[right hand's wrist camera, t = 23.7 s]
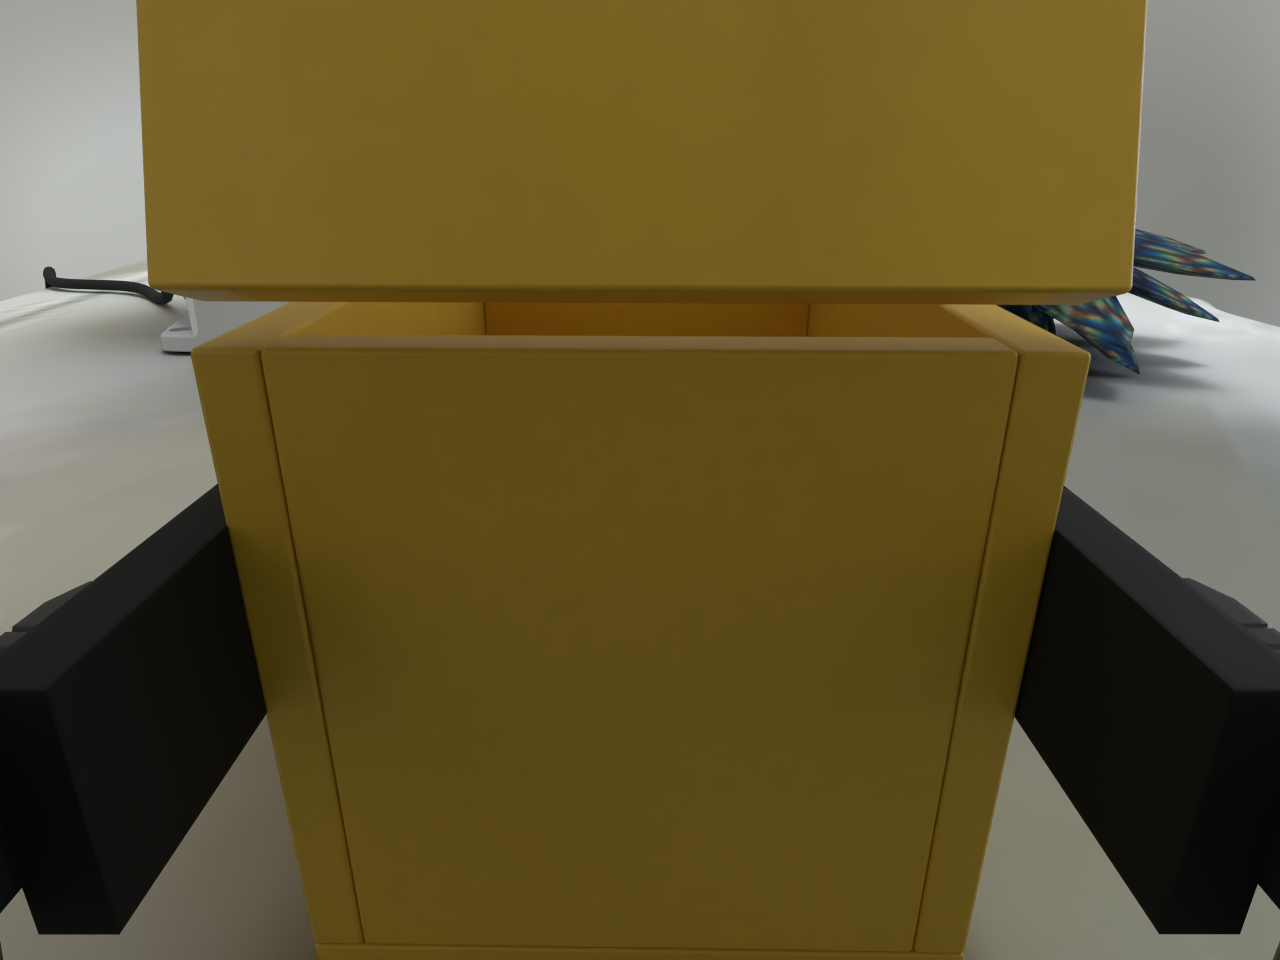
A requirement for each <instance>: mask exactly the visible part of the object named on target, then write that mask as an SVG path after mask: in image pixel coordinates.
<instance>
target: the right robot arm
mask: <svg viewBox="0 0 1280 960" xmlns="http://www.w3.org/2000/svg"><path fill="white" fill-rule="evenodd" d="M266 714H267V710H266V706H265V701H264V696H263V691H262V687H261V682H260V677H259V672H258V668H257V663H256V658H255V653H254V649H253V644H252V639H251V634H250V630H249V625H248V620H247V616H246V611H245V606H244V601H243V597H242V592H241V587H240V582H239V578H238V573H237V568H236V563H235V559H234V554H233V549H232V544H231V540H230V535H229V530H228V526H227V524H226V520H225V515H224V510H223V505H222V501H221V496H220V491H219V486H218V484H217V485H215V486H214V487H213V488H212V489H210V490H209V491H208V492H207V493H205V494H204V495H203V496H201V497H200V498H199V499H198V500H196V501H195V502H194V503H192V504H191V505H190V506H189V507H187V508H186V509H185V510H183V511H182V512H181V513H180V514H178V515H177V516H176V517H175V518H173V519H172V520H171V521H169V522H168V523H167V524H166V525H164V526H163V527H162V528H160V529H159V530H158V531H157V532H155V533H154V534H153V535H151V536H150V537H149V538H148V539H146V540H145V541H144V542H143V543H141V544H140V545H139V546H137V547H136V548H135V549H134V550H132V551H131V552H130V553H128V554H127V555H126V556H125V557H123V558H122V559H121V560H119V561H118V562H117V563H116V564H114V565H113V566H112V567H111V568H109V569H108V570H107V571H105V572H104V573H103V574H102V575H100V576H99V577H98V578H96V579H95V580H94V581H90V582H87V583H85V584H83V585H81V586H79V587H77V588H75V589H73V590H70V591H68V592H66V593H64V594H62V595H60V596H58V597H56V598H53V599H51V600H49V601H47V602H45V603H44V604H42V605H41V606H40V607H38V608H37V609H36V610H34V611H33V612H32V613H30V614H29V615H28V616H26V617H25V618H24V619H22V620H21V621H20V622H18V623H17V624H16V625H14V626H13V627H12V632H5V633H4V634H2V635H1V636H0V913H1V912H2V911H3V909H4V908H5V907H6V906H7V905H8V903H9V902H10V901H11V900H12V899H13V897H14V896H15V895H16V894H17V893H18V892H19V890H20V889H21V888H23V891H24V894H25V897H26V900H27V902H28V905H29V908H30V911H31V914H32V916H33V919H34V922H35V925H36V928H37V931H38V933H39V934H120V933H121V931H122V930H123V928H124V927H125V925H126V924H127V922H128V921H129V919H130V918H131V916H132V915H133V913H134V912H135V910H136V909H137V907H138V906H139V904H140V903H141V901H142V900H143V898H144V897H145V895H146V894H147V892H148V891H149V889H150V888H151V886H152V885H153V883H154V882H155V880H156V879H157V877H158V876H159V874H160V873H161V871H162V870H163V868H164V867H165V865H166V864H167V862H168V861H169V859H170V858H171V856H172V855H173V853H174V852H175V850H176V849H177V847H178V846H179V844H180V843H181V841H182V840H183V838H184V837H185V835H186V834H187V832H188V831H189V829H190V828H191V826H192V825H193V823H194V822H195V820H196V819H197V817H198V816H199V814H200V813H201V811H202V810H203V808H204V807H205V805H206V804H207V802H208V801H209V799H210V798H211V796H212V795H213V793H214V792H215V790H216V789H217V787H218V786H219V784H220V783H221V781H222V780H223V778H224V777H225V775H226V774H227V772H228V771H229V769H230V768H231V766H232V765H233V763H234V762H235V760H236V759H237V757H238V756H239V754H240V753H241V751H242V750H243V748H244V747H245V745H246V744H247V742H248V741H249V739H250V738H251V736H252V735H253V733H254V732H255V730H256V729H257V727H258V726H259V724H260V723H261V721H262V720H263V718H264V717H265V715H266ZM1015 718H1016V719H1017V721H1018V723H1019V724H1020V726H1021V727H1022V729H1023V730H1024V732H1025V733H1026V735H1027V736H1028V738H1029V739H1030V741H1031V742H1032V744H1033V745H1034V747H1035V748H1036V750H1037V751H1038V753H1039V754H1040V756H1041V757H1042V759H1043V760H1044V762H1045V763H1046V765H1047V766H1048V768H1049V769H1050V771H1051V772H1052V774H1053V775H1054V777H1055V778H1056V780H1057V781H1058V783H1059V784H1060V786H1061V787H1062V789H1063V790H1064V792H1065V793H1066V795H1067V796H1068V798H1069V799H1070V801H1071V802H1072V804H1073V805H1074V807H1075V808H1076V810H1077V811H1078V813H1079V814H1080V816H1081V817H1082V819H1083V820H1084V822H1085V823H1086V825H1087V826H1088V828H1089V829H1090V831H1091V832H1092V834H1093V835H1094V837H1095V838H1096V840H1097V841H1098V843H1099V844H1100V846H1101V847H1102V849H1103V850H1104V852H1105V853H1106V855H1107V856H1108V858H1109V859H1110V861H1111V862H1112V864H1113V865H1114V867H1115V868H1116V870H1117V871H1118V873H1119V874H1120V876H1121V877H1122V879H1123V880H1124V882H1125V883H1126V885H1127V886H1128V888H1129V889H1130V891H1131V892H1132V894H1133V895H1134V897H1135V898H1136V900H1137V901H1138V903H1139V904H1140V906H1141V907H1142V909H1143V910H1144V912H1145V913H1146V915H1147V916H1148V918H1149V919H1150V921H1151V922H1152V924H1153V925H1154V927H1155V928H1156V930H1157V931H1158V933H1159V934H1240V932H1241V929H1242V927H1243V924H1244V921H1245V918H1246V915H1247V913H1248V910H1249V907H1250V904H1251V901H1252V899H1253V896H1254V893H1255V890H1256V887H1257V884H1259V886H1260V887H1261V888H1262V889H1263V890H1264V892H1265V893H1266V894H1267V895H1268V896H1269V897H1270V899H1271V900H1272V901H1273V902H1274V903H1275V905H1276V906H1277V907H1278V908H1279V909H1280V633H1279V632H1278V631H1277V630H1275V629H1268V627H1267V623H1266V622H1265V621H1263V620H1262V619H1260V618H1259V617H1258V616H1256V615H1255V614H1254V613H1252V612H1251V611H1250V610H1248V609H1247V608H1246V607H1244V606H1243V605H1242V604H1240V603H1239V602H1238V601H1236V600H1235V599H1233V598H1231V597H1229V596H1227V595H1225V594H1223V593H1220V592H1218V591H1216V590H1214V589H1212V588H1210V587H1207V586H1205V585H1203V584H1201V583H1199V582H1197V581H1195V580H1192V579H1190V578H1181V577H1180V576H1179V575H1177V574H1176V573H1175V572H1174V571H1172V570H1171V569H1170V568H1168V567H1167V566H1166V565H1165V564H1163V563H1162V562H1161V561H1159V560H1158V559H1157V558H1156V557H1154V556H1153V555H1152V554H1151V553H1149V552H1148V551H1147V550H1145V549H1144V548H1143V547H1142V546H1140V545H1139V544H1138V543H1136V542H1135V541H1134V540H1133V539H1131V538H1130V537H1129V536H1127V535H1126V534H1125V533H1124V532H1122V531H1121V530H1120V529H1119V528H1117V527H1116V526H1115V525H1113V524H1112V523H1111V522H1110V521H1108V520H1107V519H1106V518H1104V517H1103V516H1102V515H1101V514H1099V513H1098V512H1097V511H1096V510H1094V509H1093V508H1092V507H1090V506H1089V505H1088V504H1087V503H1085V502H1084V501H1083V500H1081V499H1080V498H1079V497H1078V496H1076V495H1075V494H1074V493H1072V492H1071V491H1070V490H1069V489H1067V488H1066V487H1065V486H1064V487H1063V491H1062V496H1061V501H1060V505H1059V510H1058V515H1057V519H1056V524H1055V529H1054V533H1053V538H1052V543H1051V547H1050V552H1049V557H1048V561H1047V566H1046V571H1045V576H1044V580H1043V585H1042V590H1041V594H1040V599H1039V604H1038V608H1037V613H1036V618H1035V622H1034V627H1033V632H1032V636H1031V641H1030V646H1029V650H1028V655H1027V660H1026V664H1025V669H1024V674H1023V678H1022V683H1021V688H1020V692H1019V697H1018V702H1017V706H1016V711H1015ZM0 960H3V955H2V949H1V943H0ZM1273 960H1280V942H1279V945H1278V948H1277V950H1276V953H1275V956H1274V958H1273Z"/></svg>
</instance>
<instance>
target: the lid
mask: <svg viewBox="0 0 1280 960" xmlns="http://www.w3.org/2000/svg"><path fill="white" fill-rule="evenodd" d="M136 1H137V25H138V49H139V72H140V96H141V120H142V143H143V167H144V190H145V213H146V238H147V262H148V283H149V286H150V287H151V288H153V289H155V290H159V291H163V292H167V293H171V294H175V295H179V296H183V297H188V298H192V299H196V300H200V301H223V302H468V303H713V304H958V305H1080V304H1084V303H1088V302H1092V301H1096V300H1100V299H1105V298H1109V297H1113V296H1117V295H1121V294H1125V293H1127V292H1129V291H1130V290H1131V288H1132V280H1133V261H1134V243H1135V224H1136V205H1137V187H1138V168H1139V150H1140V132H1141V113H1142V95H1143V76H1144V57H1145V39H1146V20H1147V2H1148V0H136Z"/></svg>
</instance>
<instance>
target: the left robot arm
mask: <svg viewBox="0 0 1280 960" xmlns="http://www.w3.org/2000/svg"><path fill="white" fill-rule="evenodd" d="M43 276H44V279H45V289H46V288H49V287H58V288H68V289H92V290H118V291H128V292H134V293H138V294H141V295H144V296H146V297H148V298H149V299H151V300H153V301H154V302H156V303H160V304H166V303H168V302H170V301H171V300H172V298H173V294H171V293H167V292H163V291H161V293H160V292H157V291H156V290H154V289H153V288H151V287H149V286H146V285H144V284H140V283H136V282H128V281H114V280H81V279H64V278H57V277H56V273H55V270H54V269H53V268H52V267H46V268H44V271H43ZM184 299H185V300H187V304H188V310H189V311H188V312H186V313H185V314H184V315H183V316H182V317H180V318H179V319H178V320H177V321H176V322H175V323H173V324H172V325H171V326H170V327H169V328H167V329H166V330H165V331H164V332H163V333H161V335H160V339H161V349H162V350H164V351H179V352H191V350H192V349H193V348H195V347H197V346H199V345H201V344H203V343H205V342H207V341H210V340H212V339H214V338H216V337H218V336H220V335H222V334H224V333H227V332H229V331H231V330H233V329H235V328H237V327H239V326H241V325H243V324H246V323H248V322H250V321H252V320H254V319H256V318H258V317H260V316H263V315H265V314H267V313H269V312H271V311H273V310H275V309H277V308H280V307H282V306H284V305H286V304H288V303H290V302H223V301H200V300H196V299H192V298H188V297H184Z"/></svg>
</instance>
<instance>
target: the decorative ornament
mask: <svg viewBox="0 0 1280 960" xmlns="http://www.w3.org/2000/svg"><path fill="white" fill-rule="evenodd" d="M1204 253H1206V252H1205V251H1203V250H1201V249H1198V248H1195V247H1193V246H1190V245H1187V244H1185V243H1182V242H1179V241H1177V240H1174V239H1171V238H1167V237H1164V236H1160V235H1156V234H1152V233H1149V232H1145V231H1141V230H1138V229H1135V243H1134V261H1133V266H1134V267H1140V268H1146V269H1151V270H1157V271H1163V272H1168V273H1174V274H1181V275H1189V276H1198V277H1209V278H1219V279H1229V280H1255V279H1254V278H1253V277H1251V276H1249V275H1246V274H1244V273H1242V272H1239V271H1237V270H1234V269H1232V268H1230V267H1227V266H1225V265H1223V264H1220V263H1218V262H1215V261H1213V260H1211V259H1208V258H1206V257H1203V256H1201V255H1199V254H1204ZM1134 267H1133V280H1132V288H1131V290H1130V291H1129V292H1128V293H1131V294H1133V295H1136V296H1139V297H1141V298H1144V299H1146V300H1149V301H1152V302H1154V303H1157V304H1159V305H1162V306H1165V307H1167V308H1170V309H1173V310H1176V311H1179V312H1182V313H1184V314H1188V315H1192V316H1196V317H1201V318H1205V319H1209V320H1213V321H1217V322H1219V320H1218V319H1217V318H1216V317H1214V316H1213V315H1212V314H1210V313H1209V312H1207V311H1206V310H1204V309H1203V308H1201V307H1200V306H1199V305H1197V304H1196V303H1194V302H1193V301H1191V300H1190V299H1188V298H1187V297H1185V296H1184V295H1183V294H1181V293H1179V292H1177V291H1176V290H1174V289H1172V288H1170V287H1169V286H1167V285H1165V284H1163V283H1162V282H1160V281H1158V280H1156V279H1154V278H1153V277H1151V276H1149V275H1147V274H1146V273H1144V272H1142V271H1140V270H1138V269H1136V268H1134ZM997 306H999V307H1001V308H1003V309H1005V310H1007V311H1008V312H1010V313H1012V314H1014V315H1016V316H1018V317H1020V318H1022V319H1024V320H1026V321H1028V322H1030V323H1032V324H1034V325H1036V326H1038V327H1040V328H1042V329H1044V330H1046V331H1048V332H1050V333H1052V334H1054V335H1056V330H1055V324H1054V321H1053V319H1054V318H1055V319H1056V320H1058V321H1060V322H1061V323H1063V324H1065V325H1066V326H1068V327H1070V328H1071V329H1073V330H1074V331H1075V332H1077V333H1078V334H1079V335H1080V336H1082V337H1083V338H1084V339H1085V340H1086V341H1088V342H1089V343H1090V344H1091V345H1093V346H1094V347H1095V348H1096V349H1098V350H1099V351H1100V352H1101V353H1103V354H1104V355H1105V356H1106V357H1108V358H1109V359H1111V360H1113V361H1115V362H1117V363H1119V364H1121V365H1123V366H1125V367H1126V368H1128V369H1130V370H1132V371H1134V372H1136V373H1138V374H1139V369H1138V365H1137V362H1136V358H1135V355H1134V351H1133V348H1132V346H1131V344H1130V343H1131V339H1132V335H1133V332H1134V328H1133V326H1132V325H1131V323H1130V321H1129V319H1128V317H1127V316H1126V314H1125V312H1124V310H1123V308H1122V307H1121V305H1120V303H1119V301H1118V299H1117V297H1116V296H1113V297H1109V298H1105V299H1100V300H1096V301H1092V302H1088V303H1084V304H1080V305H997Z"/></svg>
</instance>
